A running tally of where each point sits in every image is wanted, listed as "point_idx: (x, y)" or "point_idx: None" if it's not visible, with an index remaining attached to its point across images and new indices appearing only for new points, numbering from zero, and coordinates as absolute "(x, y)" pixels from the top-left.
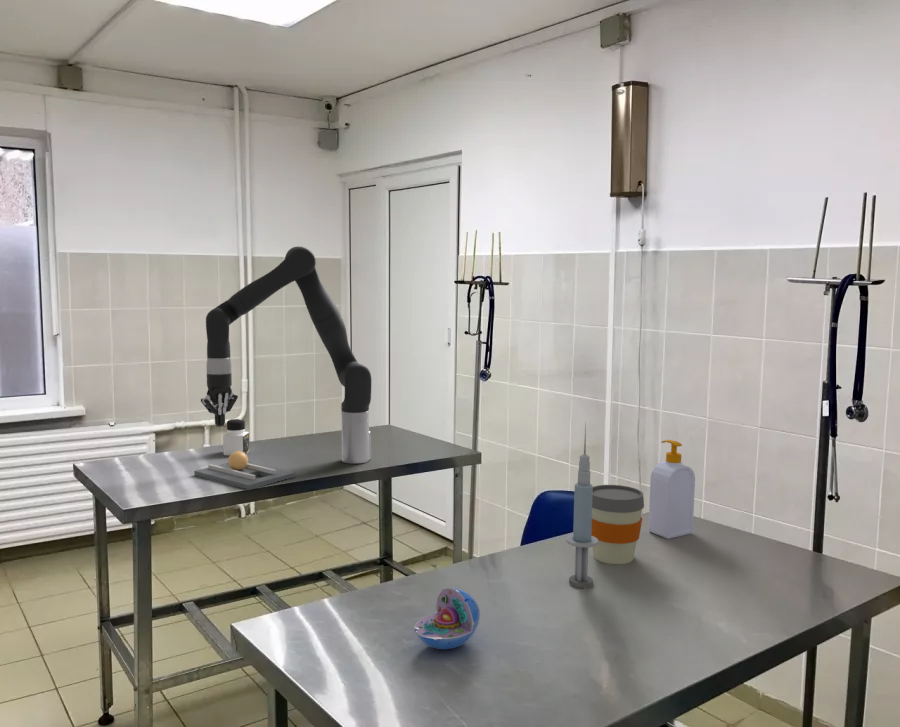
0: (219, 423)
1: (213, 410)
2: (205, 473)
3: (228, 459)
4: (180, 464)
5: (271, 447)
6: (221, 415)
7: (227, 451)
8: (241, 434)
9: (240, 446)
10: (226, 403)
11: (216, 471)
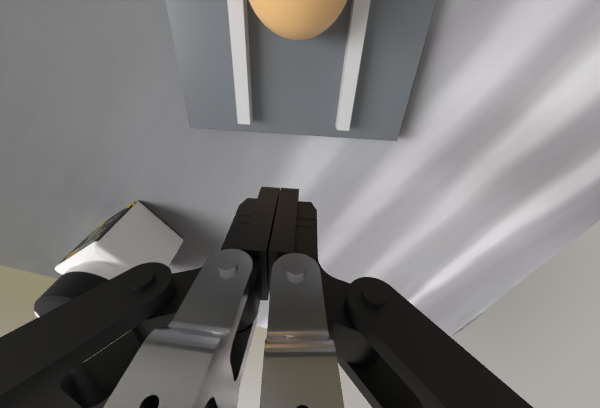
0: (297, 207)
1: (408, 322)
2: (413, 71)
3: (341, 10)
4: None
5: (21, 209)
6: (275, 247)
7: (170, 239)
8: (94, 255)
9: (128, 223)
10: (139, 392)
11: (368, 58)
